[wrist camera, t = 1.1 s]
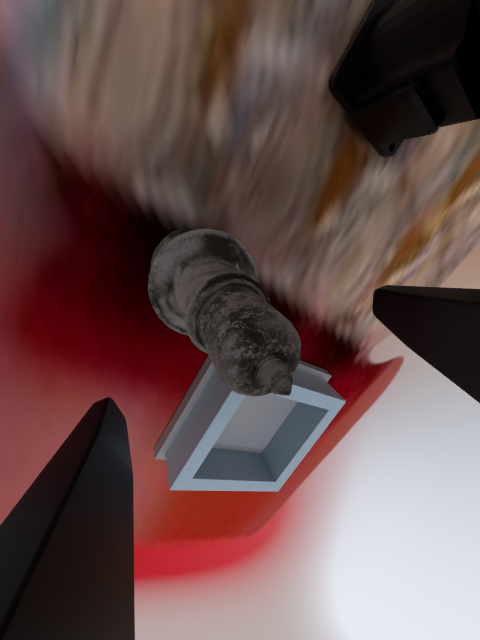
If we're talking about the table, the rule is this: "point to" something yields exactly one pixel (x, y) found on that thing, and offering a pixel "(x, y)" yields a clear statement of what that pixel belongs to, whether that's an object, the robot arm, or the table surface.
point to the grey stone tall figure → (224, 309)
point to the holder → (245, 432)
